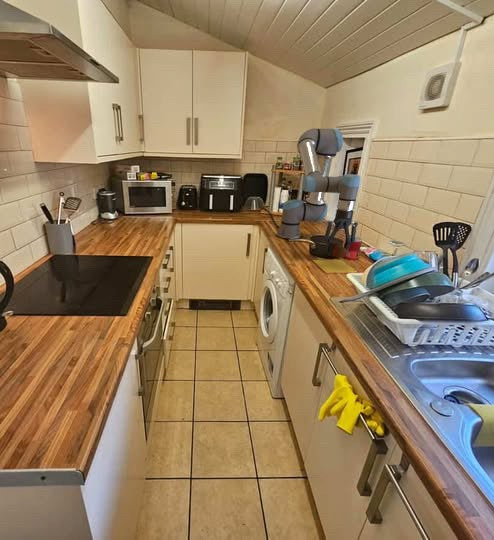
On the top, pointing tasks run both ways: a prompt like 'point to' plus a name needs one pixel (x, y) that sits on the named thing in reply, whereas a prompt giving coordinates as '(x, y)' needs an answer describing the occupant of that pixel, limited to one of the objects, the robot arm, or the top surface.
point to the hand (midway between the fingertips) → (336, 255)
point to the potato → (338, 250)
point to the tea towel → (334, 266)
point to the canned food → (354, 249)
